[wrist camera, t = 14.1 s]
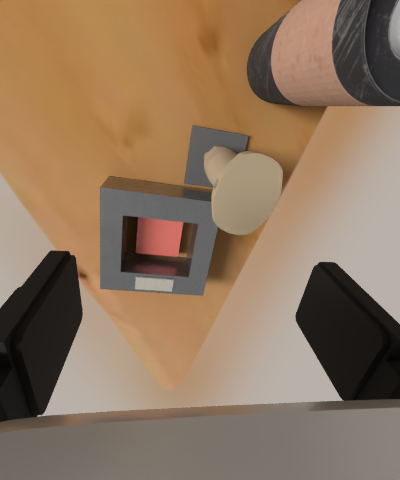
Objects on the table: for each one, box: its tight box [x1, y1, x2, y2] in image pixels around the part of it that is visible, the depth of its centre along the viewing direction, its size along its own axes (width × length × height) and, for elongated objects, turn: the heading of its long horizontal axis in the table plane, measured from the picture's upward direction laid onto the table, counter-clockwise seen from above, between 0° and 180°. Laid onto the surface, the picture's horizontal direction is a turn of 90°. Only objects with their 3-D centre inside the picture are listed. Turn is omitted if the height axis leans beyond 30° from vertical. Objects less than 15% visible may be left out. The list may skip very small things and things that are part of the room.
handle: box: [204, 146, 283, 235], centre depth 26 cm, size 5×6×15 cm
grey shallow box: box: [100, 176, 218, 296], centre depth 35 cm, size 14×14×5 cm
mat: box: [184, 126, 249, 187], centre depth 33 cm, size 7×7×1 cm
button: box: [136, 217, 183, 257], centre depth 36 cm, size 6×6×1 cm
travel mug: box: [247, 0, 400, 106], centre depth 20 cm, size 8×8×20 cm
